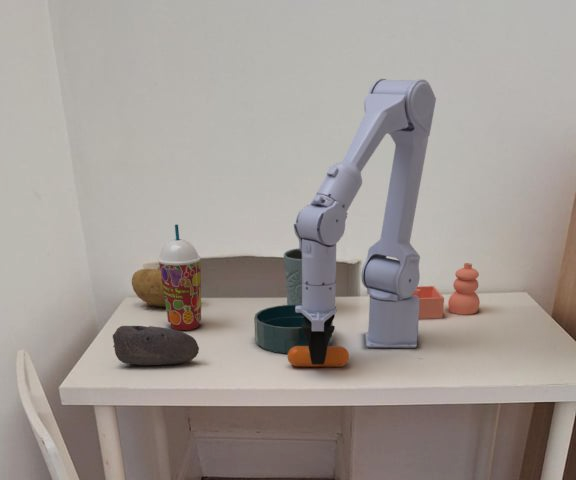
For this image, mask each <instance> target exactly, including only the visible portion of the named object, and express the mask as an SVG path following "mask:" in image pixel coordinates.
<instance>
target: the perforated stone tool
mask: <svg viewBox="0 0 576 480" xmlns="http://www.w3.org/2000/svg"><path fill="white" fill-rule="evenodd" d="M112 340H113V346H112V348H114V354H115V356H116V358H117V359H118V360H119V361H120V362H122V363H123V364H127V365H135V366H164V365H179V364H184V363H187V362H190V361H192V360H194V359H195V358H196V357H197V356H198V354H199V351H200V346H199V345H198V342H197V340H196V339H195V338H194V337H193V336H192V335H190V334H188V333H186V332H184V331H182V330H176V329H173V328H168V327H161V326H152V325H149V326H144V325H121V326H119V327H117V329H116V330H115V331H114V333H113V334H112Z"/></svg>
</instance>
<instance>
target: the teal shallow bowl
mask: <svg viewBox="0 0 576 480" xmlns="http://www.w3.org/2000/svg"><path fill="white" fill-rule="evenodd" d="M296 306H301V305H287V304H284V305H283V304H282V305H276V306H271V307H266V308H264V309H261V310H259V311H258V312H256V313H255V314H254V316H253V323H254V341H255V342H256V344H257V345H258V346H259V347H260V348H262V349H264V350H266V351H268V352H273V353H277V354H288V352H289V350H290V349H291V348H292V347H295V346H308V343H307V340H306V337H305V335H304V334H303V332H302V324H306V322H305V320H304V318H303V314H302V313H297V312H295V307H296ZM331 326H334V320H333V321H332V323H331ZM332 342H333V335H332V336H331V338H330V340H329V343H328V346H330V344H331V343H332Z"/></svg>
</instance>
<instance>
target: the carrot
mask: <svg viewBox="0 0 576 480" xmlns="http://www.w3.org/2000/svg"><path fill="white" fill-rule="evenodd" d="M349 360H350V353H349V350H348V349H347V348H346V347H344V346H341V345H328V347H327V352H326V358H325V362H324V364H323V365H317V364H312V362H311V358H310V352H309V347H308V346H295V347H292V348H291V349H290V350H289V352H288V353H287V361H288V362H289V364H290V365H292V366H293V367H299V368H300V367H306V368H307V367H311V368H313V367H314V368H316V367H317V368H320V367H321V368H329V367H330V368H338V367H339V368H341V367H343V366H345V365H346V364H347V363H348V362H349Z"/></svg>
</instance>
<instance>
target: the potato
mask: <svg viewBox="0 0 576 480" xmlns="http://www.w3.org/2000/svg"><path fill="white" fill-rule="evenodd" d="M131 286H132V289H133V292H134V293H135V294H136V296H137V298H139V299H140V300H142V301H143V302H144V303H146V304H148V305H151V306H154V307H158V308H166V305H165V299H164V292H163V286H162V280H161V274H160V268H143V269H139V270H137V271H135V272H134V273H133V275H132V277H131Z"/></svg>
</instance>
